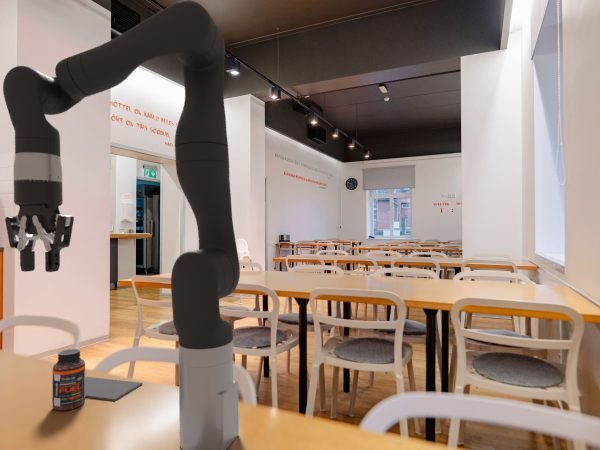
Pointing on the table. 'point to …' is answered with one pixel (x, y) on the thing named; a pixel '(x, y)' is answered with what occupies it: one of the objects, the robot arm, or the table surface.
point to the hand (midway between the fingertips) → (39, 270)
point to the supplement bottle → (68, 380)
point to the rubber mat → (108, 388)
